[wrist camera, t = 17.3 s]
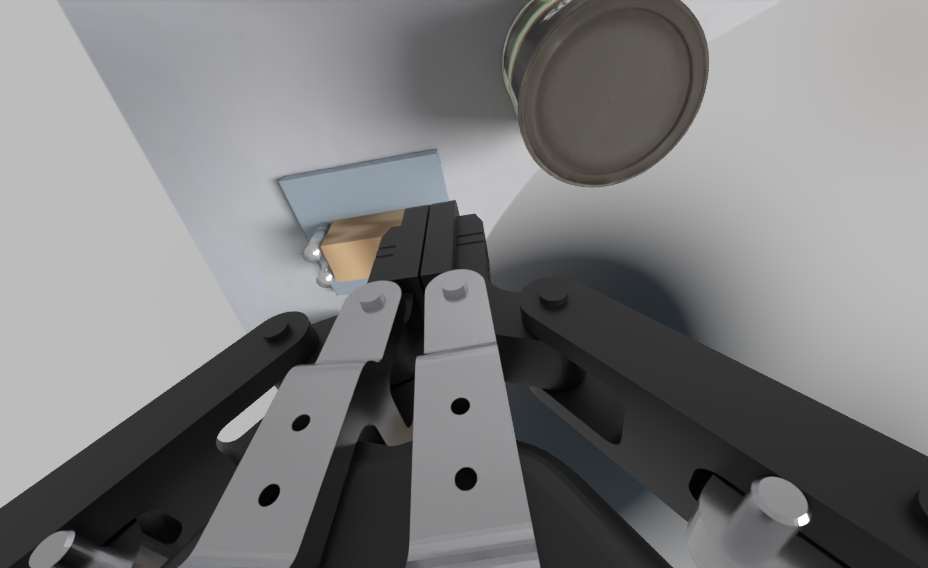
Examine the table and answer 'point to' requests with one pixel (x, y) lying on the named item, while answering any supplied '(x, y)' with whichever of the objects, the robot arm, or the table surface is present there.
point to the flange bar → (357, 243)
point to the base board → (364, 193)
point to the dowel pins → (319, 255)
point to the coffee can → (604, 84)
